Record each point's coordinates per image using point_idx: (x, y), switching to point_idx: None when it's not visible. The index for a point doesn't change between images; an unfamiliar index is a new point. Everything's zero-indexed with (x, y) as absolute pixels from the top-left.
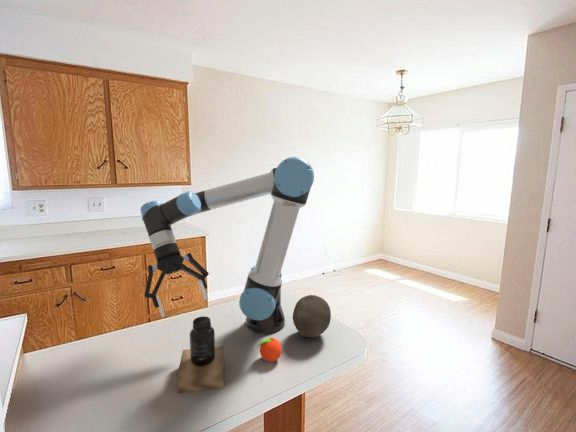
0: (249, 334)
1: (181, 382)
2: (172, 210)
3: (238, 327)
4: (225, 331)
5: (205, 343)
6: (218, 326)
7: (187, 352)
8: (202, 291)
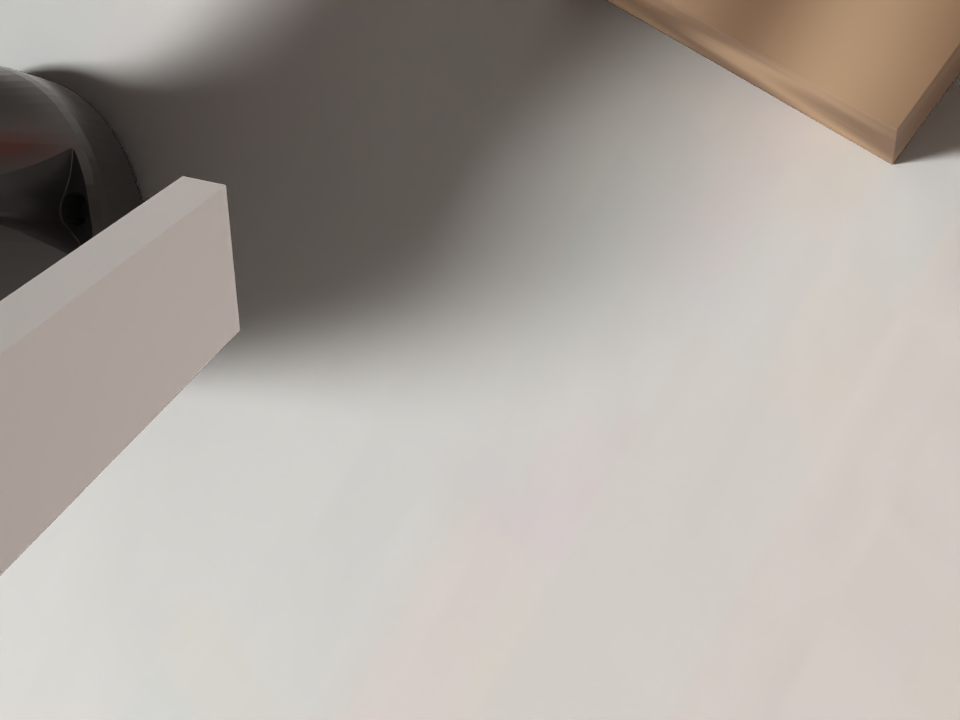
0: None
1: None
2: None
3: None
4: (293, 400)
5: None
6: (288, 528)
7: (884, 36)
8: (123, 331)
